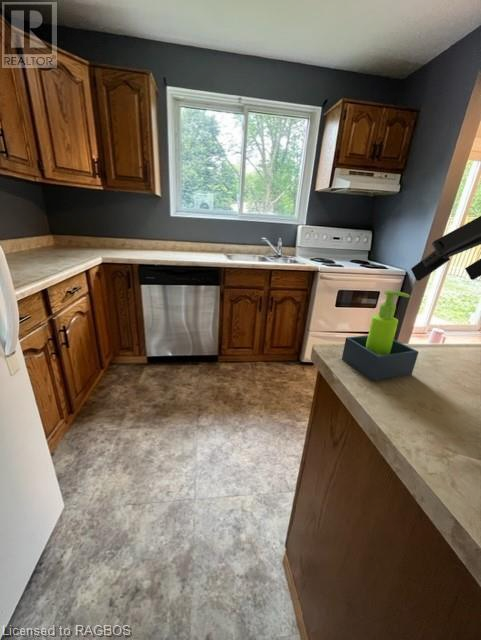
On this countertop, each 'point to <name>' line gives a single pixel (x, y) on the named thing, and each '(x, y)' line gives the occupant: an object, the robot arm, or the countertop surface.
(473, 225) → the robot arm
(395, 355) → the box
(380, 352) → the soap dispenser
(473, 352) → the countertop surface
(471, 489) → the countertop surface
